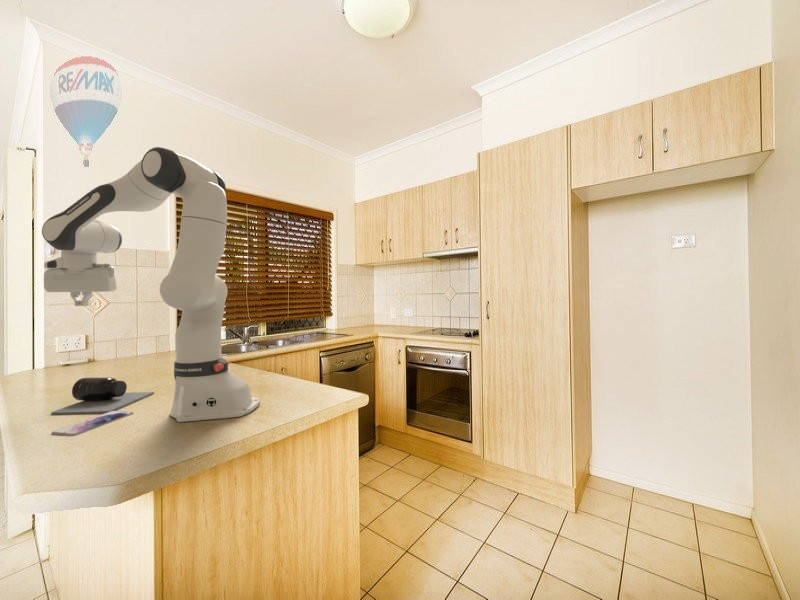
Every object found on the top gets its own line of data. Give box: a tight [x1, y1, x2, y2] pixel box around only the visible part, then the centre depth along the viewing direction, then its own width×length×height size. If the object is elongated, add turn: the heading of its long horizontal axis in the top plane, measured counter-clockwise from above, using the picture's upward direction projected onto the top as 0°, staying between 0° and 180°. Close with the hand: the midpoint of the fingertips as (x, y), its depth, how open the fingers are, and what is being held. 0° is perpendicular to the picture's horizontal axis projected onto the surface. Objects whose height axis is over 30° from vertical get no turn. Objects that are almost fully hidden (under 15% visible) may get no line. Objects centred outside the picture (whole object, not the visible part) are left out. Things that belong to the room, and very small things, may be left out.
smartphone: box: [51, 410, 134, 437], centre depth 87 cm, size 7×1×15 cm
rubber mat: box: [50, 391, 155, 416], centre depth 102 cm, size 16×18×1 cm
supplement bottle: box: [71, 377, 128, 402], centre depth 104 cm, size 7×7×12 cm
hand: (81, 306), depth 111 cm, fingers closed
